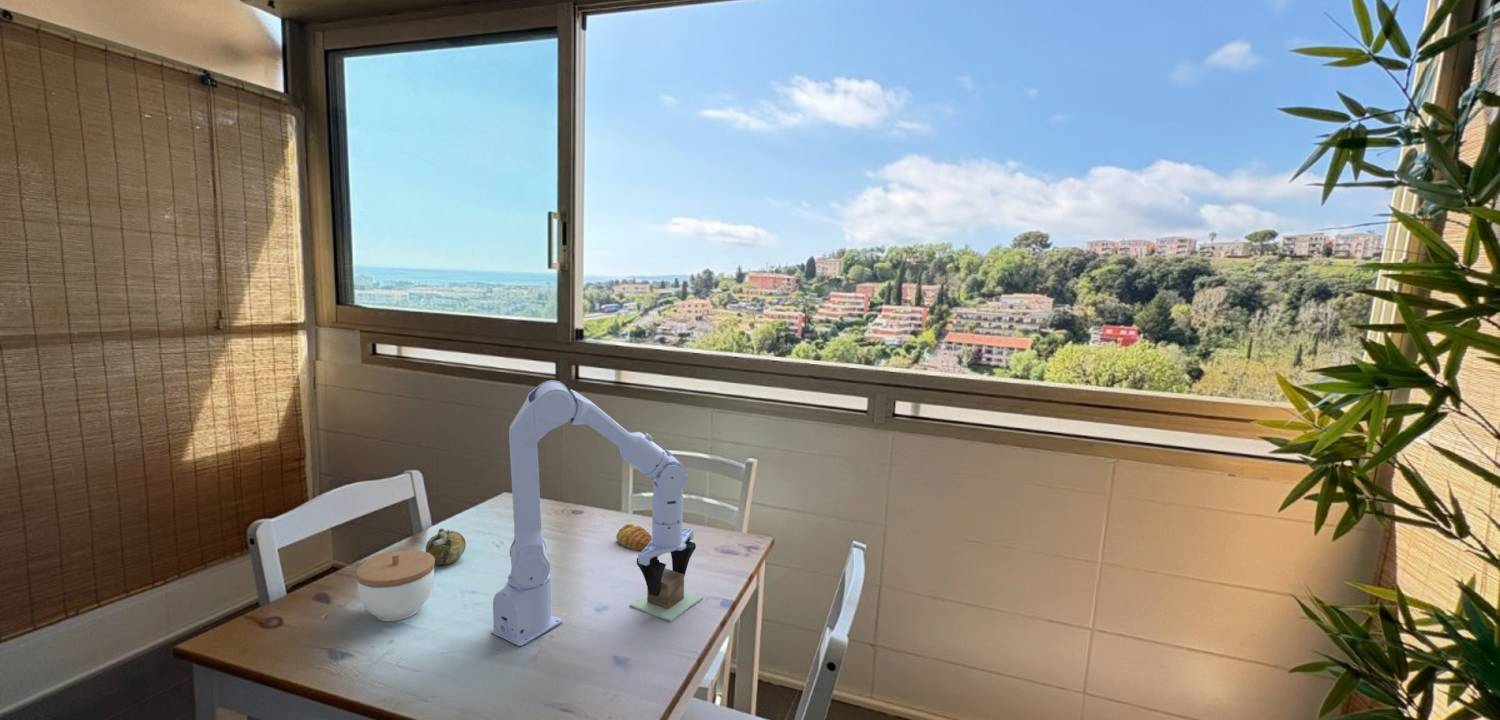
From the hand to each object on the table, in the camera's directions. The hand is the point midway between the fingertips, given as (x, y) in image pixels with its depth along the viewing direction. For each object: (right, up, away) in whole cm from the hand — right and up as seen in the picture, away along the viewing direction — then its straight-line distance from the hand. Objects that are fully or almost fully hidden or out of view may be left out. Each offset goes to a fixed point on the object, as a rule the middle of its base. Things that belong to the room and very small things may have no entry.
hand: (666, 586), depth 123 cm
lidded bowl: (-49, -3, -5) cm, 49 cm away
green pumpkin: (-50, 0, +15) cm, 52 cm away
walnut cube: (0, -3, 0) cm, 3 cm away
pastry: (-11, 0, +27) cm, 29 cm away
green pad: (0, -3, 0) cm, 3 cm away
